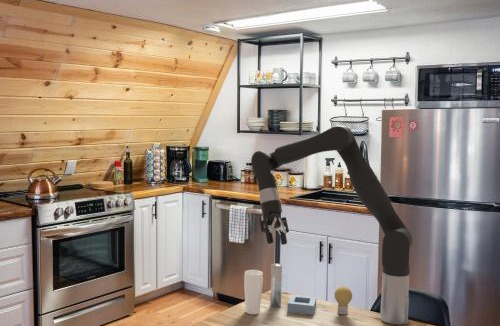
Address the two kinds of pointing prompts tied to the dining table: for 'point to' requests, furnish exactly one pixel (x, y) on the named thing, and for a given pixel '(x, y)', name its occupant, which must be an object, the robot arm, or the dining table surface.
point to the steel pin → (276, 285)
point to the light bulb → (343, 299)
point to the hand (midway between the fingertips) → (277, 243)
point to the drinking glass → (253, 291)
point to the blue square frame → (301, 304)
